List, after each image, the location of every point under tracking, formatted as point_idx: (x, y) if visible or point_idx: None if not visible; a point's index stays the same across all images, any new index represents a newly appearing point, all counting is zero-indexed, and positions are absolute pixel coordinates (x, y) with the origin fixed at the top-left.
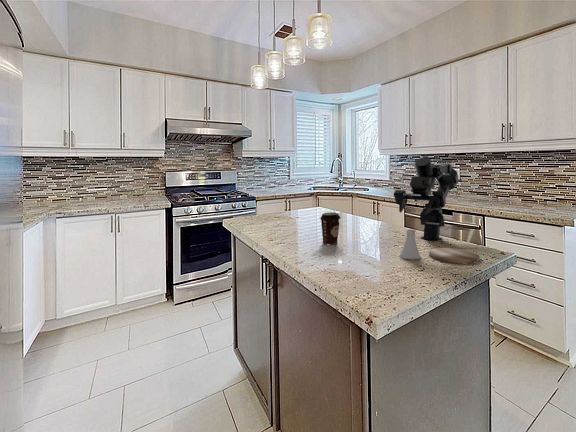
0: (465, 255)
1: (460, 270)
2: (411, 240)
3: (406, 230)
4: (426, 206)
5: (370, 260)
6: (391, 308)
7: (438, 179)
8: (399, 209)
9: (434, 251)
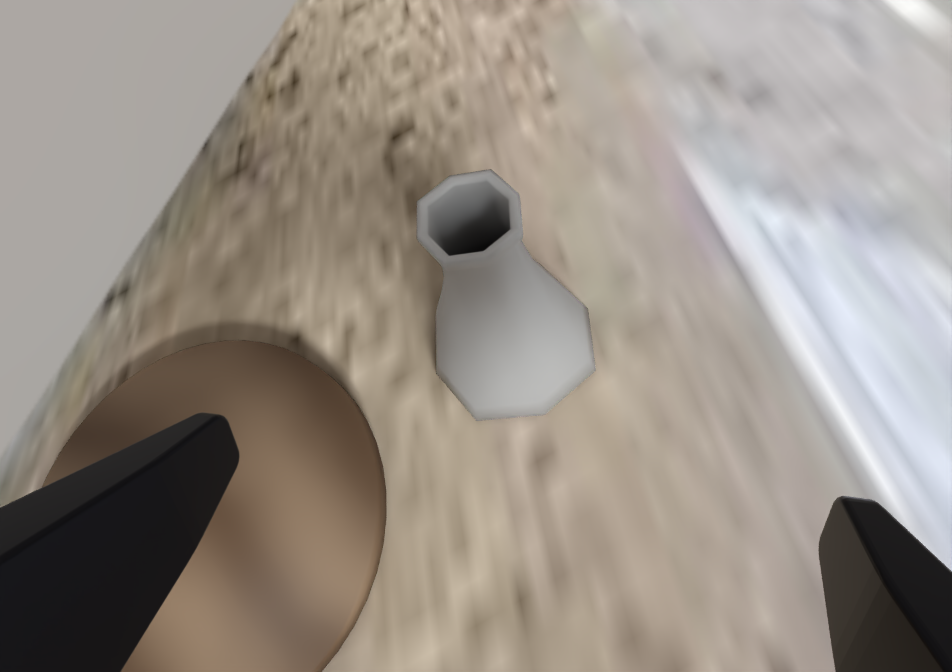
0: None
1: (204, 243)
2: (470, 235)
3: (515, 192)
4: (46, 525)
5: (739, 128)
6: None
7: None
8: (890, 519)
9: (333, 520)
